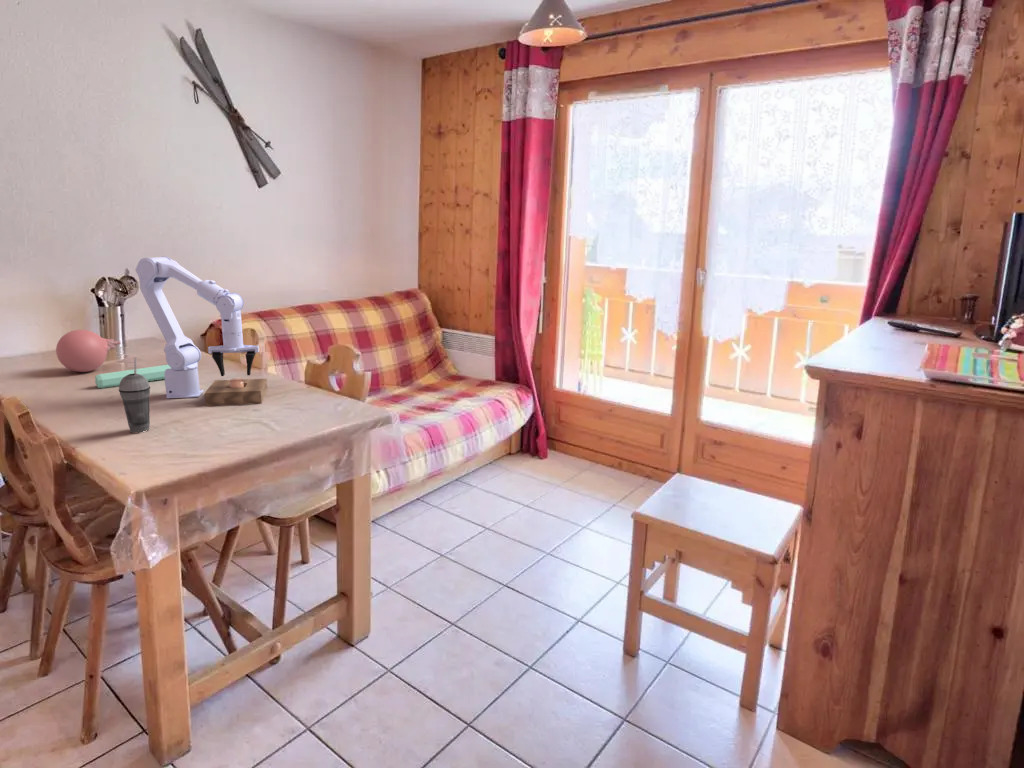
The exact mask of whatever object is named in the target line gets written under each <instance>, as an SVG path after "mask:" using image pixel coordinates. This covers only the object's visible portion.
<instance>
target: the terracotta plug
mask: <svg viewBox="0 0 1024 768" xmlns="http://www.w3.org/2000/svg"><path fill="white" fill-rule="evenodd" d="M243 379H244V378H242V377H236V378H235V377H233V378H231V379H229V380H230V388H239V387H244V382H243Z"/></svg>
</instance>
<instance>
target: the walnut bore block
mask: <svg viewBox="0 0 1024 768" xmlns="http://www.w3.org/2000/svg"><path fill="white" fill-rule="evenodd" d="M242 379H243V382H244V387H239V388H230V379H224V380H222V379H220V380H219V379H218V380H217V379H216V380H214V381H213V382H212V383H211V384H210V386H209V387H208V388H207V389H206V390H205V392H204V401H205V406H206V407H207V406H209V407H210V406H227V405H229V406H231V405H233V404H234V405H248V404H247V403H257V404H262V403H263V401H264V399H265V397H266V395H267V393H268V391H267V389H268V387H269V386H268V378H247V379H246V378H245V379H244V378H242ZM268 390H269V389H268ZM266 392H267V393H266ZM265 394H266V395H265ZM264 396H265V397H264ZM263 398H264V399H263ZM234 405H233V406H234Z"/></svg>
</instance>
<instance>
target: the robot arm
mask: <svg viewBox="0 0 1024 768" xmlns="http://www.w3.org/2000/svg"><path fill="white" fill-rule="evenodd" d="M134 269H135V272H136V274H137V276H138V279H139V281H138V282H139V290H140V293H141V294H142V296H143V298H144V299H145V302H146V303H147V306H148V308H149V310H150V312H151V314H152V315H153V318H154V320H155V322H156V324H157V327H158V328H159V330H160V332H161V335H162V336H163V339H164V340H165V345H164V346H163V347H164V348H163V351H164V353H165V360H166V365H169V366H170V367H171V369H166V370H165V379H164V385H165V392H166V396H165V398H166V399H182V398H183V399H184V398H187V399H188V398H199V397H200V396H201V395H202V394H203V392H204V391H205V390H204V389H201V388H200V378H199V369H198V367H199V362H200V361H201V359H202V352H201V350H200V349H199V347H197V345H195V344H194V342H193V340H192V339H191V338H190V337H188V336H186V335H185V334H184V332H183V329H182V328H181V326H180V324H179V322H178V320H177V318H176V315H175V314H174V312H173V310H172V308H171V306H170V303H169V301H168V300H167V297H166V294H165V293H164V291H163V288H164V286H165V284H166V282H167V281H168V280H169V279H170V278H172V279H175V280H177V281H179V282H181V283H183V284H185V285H186V286H189V287H190V288H192V289H194V290H196V294H197V296H198V297H200V298H202V299H204V300H205V301H207V302H209V303H210V304H212V305H214V306H215V307H216V309H217V311H218V312H219V315H220V321H221V332H222V342H223V345H216V346H215V345H214V346H213V345H212V346H208V347H207V350H208V354H212V355H211V357H212V359H213V361H214V362H215V364H216V366H217V368H218V371H219V374H220V376H221V377H225V375H226V374H225V367H224V365H225V363H224V354H228V353H229V354H230V353H231V354H233V353H234V354H235V353H237V354H238V353H241V354H242V353H245V360H246V361H245V362H246V376H250V375H251V369H252V365H253V362H254V359H255V357H256V354H257V353H259V352H260V346H259V345H250V344H249V345H248V344H247V345H246V344H244V337H243V335H244V334H243V325H242V324H243V323H242V321H243V320H242V311H241V310H242V309H243V308H244V304H245V303H244V299H243V297H242V296H241V295H240V294H239V293H238V292H230V290H229V289H228V288H223V287H222V286H220V285H218V284H216V282H217V281H215V280H213V279H211V280H210V279H205V280H202V279H201V278H199V277H198V276H196V275H195V274H193V273H192V272H191V271H190V270H187V268H185V267H183V266H182V265H180V264H179V263H178V262H177V261H176V260H174V259H171V257H169V256H166V255H163V256H158V257H155V256H154V257H143V258H141V259H140V260H139V261H138V263H137V265H136V268H134Z"/></svg>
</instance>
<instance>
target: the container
mask: <svg viewBox="0 0 1024 768" xmlns="http://www.w3.org/2000/svg"><path fill="white" fill-rule="evenodd" d="M166 369H171V367H170V366H169V365H168V364H163V365H156V366H155V365H154V366H149V367H141V368H137V374H140V375H142V376H144V377H145V378H146V379H147V381H150V382H155V381H154V380H157V381H162V379H163V380H165V370H166ZM128 374H134V368H133V369H126V370H119V371H113V372H106V373H99V374H97V375H96V376H95V378H94V380H95V381H94V383H95V384H96V387H97V388H99V389H106V387H108V388H114V387H113V386H115V387H119V384H120V382H121V380H122V379H123V378H124V377H125V376H126V375H128Z"/></svg>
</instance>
